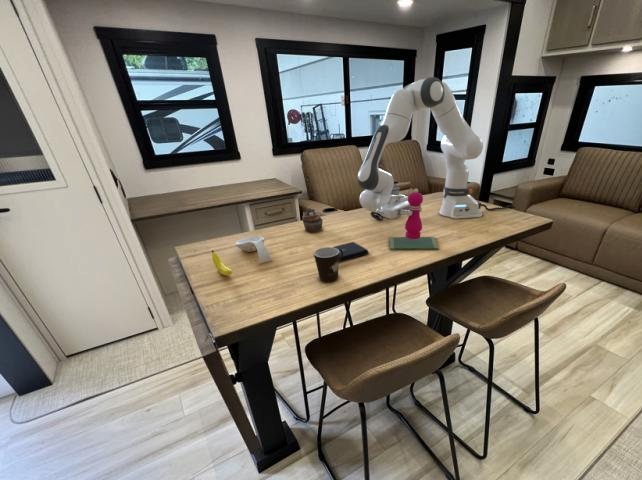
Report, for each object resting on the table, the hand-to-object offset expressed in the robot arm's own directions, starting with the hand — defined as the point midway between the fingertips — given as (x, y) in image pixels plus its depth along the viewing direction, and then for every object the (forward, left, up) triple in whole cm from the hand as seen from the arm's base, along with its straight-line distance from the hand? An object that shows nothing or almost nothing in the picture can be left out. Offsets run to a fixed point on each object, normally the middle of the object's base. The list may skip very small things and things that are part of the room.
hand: (416, 211), depth 129 cm
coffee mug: (+32, +30, -14) cm, 46 cm away
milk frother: (+13, -38, -14) cm, 42 cm away
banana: (+72, +28, -14) cm, 79 cm away
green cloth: (+1, -1, -14) cm, 14 cm away
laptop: (+31, +10, -14) cm, 35 cm away
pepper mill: (+1, -1, -11) cm, 11 cm away
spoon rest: (+67, +9, -14) cm, 69 cm away
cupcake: (+48, -19, -14) cm, 53 cm away
